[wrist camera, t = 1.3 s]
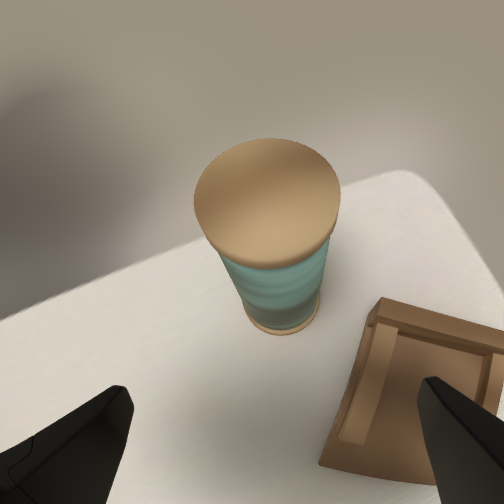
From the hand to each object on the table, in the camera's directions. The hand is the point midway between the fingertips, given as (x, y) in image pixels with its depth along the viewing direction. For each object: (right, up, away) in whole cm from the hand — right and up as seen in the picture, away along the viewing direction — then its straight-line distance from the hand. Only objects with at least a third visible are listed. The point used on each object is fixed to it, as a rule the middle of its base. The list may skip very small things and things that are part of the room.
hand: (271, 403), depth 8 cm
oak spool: (+2, +1, +15) cm, 15 cm away
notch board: (+11, -6, +10) cm, 16 cm away
